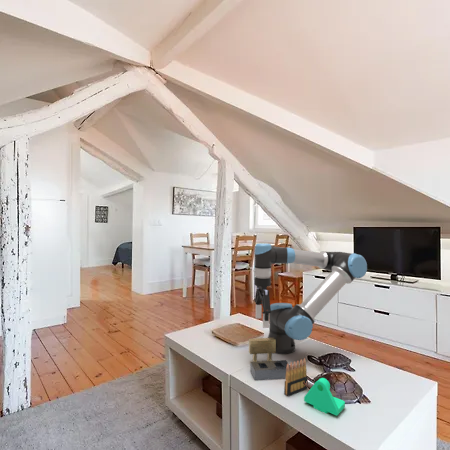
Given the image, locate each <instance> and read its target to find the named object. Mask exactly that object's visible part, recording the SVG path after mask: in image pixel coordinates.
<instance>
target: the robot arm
mask: <svg viewBox="0 0 450 450" xmlns="http://www.w3.org/2000/svg"><path fill="white" fill-rule="evenodd" d="M367 263H368V262H367V261H366V259H365V257H364V256H363V255H361V254H357V253H355V252H354V253H350V252H343V251H320V252H316V251H311V250H302V249H295V248H292V247H287V246H286V247H282V246H281V247H280V246H273V245H271V243H256V244H255V246H254V269H253V273H254V276H255V277H254V283H253V285H254V286H255V287H256V289H255V296H254V297H255V298H254V303H255V319H256V320H257V319H262V329H269V331H268V332H269V333H268V336H267V338H275V340H276V353H275V354H282V355H284V354H285V355H286V354H291V353H294V352H295V351H296V341H304V340H305V339H307V338H309V337H310V335H311V334H312V332H313V327H314V326H313V325H314V323H315V318H316V317H317V315H318V314H319V313H320V312H321V311H322V309H324V307H326V306H327V304H328V303H330V301H331V300H332V299H333V298H334V297H335V296H336V295H337V293H339V291H340V290H342V288H344V286H345V285H346V284H351V283H352V282H353V281H354V280H356V279H362V278H364V276H366V273H367V271H368V264H367ZM275 264H276V265H281V264H283V265H284V264H287V265H288V264H295V265H301V266H302V265H303V266H311V267H318V268H319V269H322V270H327V271H328V272H330V273H329V274H328V275H327V276H326V277H325V278H324V279H323V280H322V282H320V284H318V285H317V287H316V288H315V289H314V290H313V291H311V293H310V294H309V295H308V296H307V297H306V298H305V299H304V301H302V302H301V303H300V304H295V305H294V306H293V304H292V303H288V302H275V303H271V300H270V290H269V289H267V288H268V287H271V282H272V279H271V277H272V265H275Z"/></svg>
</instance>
